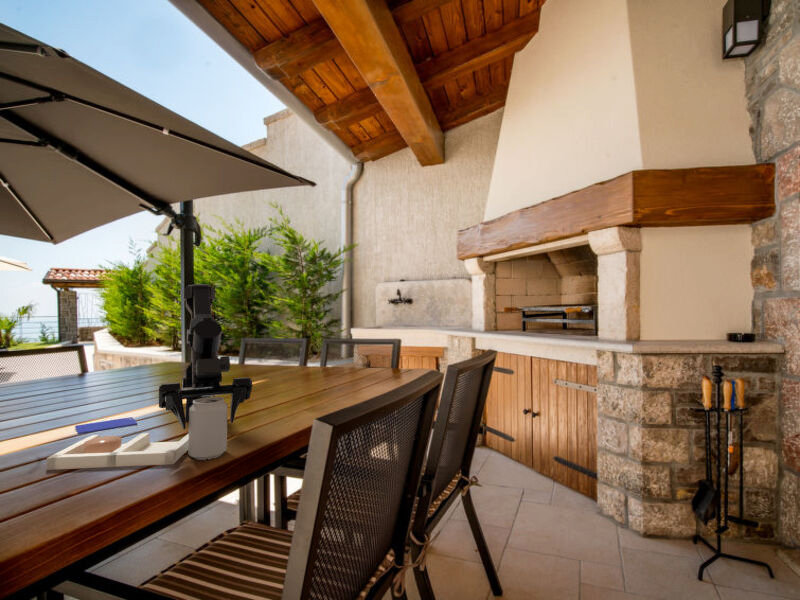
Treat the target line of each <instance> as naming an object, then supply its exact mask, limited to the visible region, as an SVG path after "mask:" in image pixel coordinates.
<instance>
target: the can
mask: <svg viewBox="0 0 800 600" xmlns="http://www.w3.org/2000/svg"><path fill="white" fill-rule="evenodd" d="M188 433H189V442H188V452H187V454H188V455H189V456H190V457H191V458H193V460H196V461H207V460H206V459H208V460H212V458H213V459H216V458H219V457H222V455H223V454H224V453H225V452H226V451H227V449H228V441H227V440H228V404H227V403H226V402H225V397H221V396H214V397H213V396H211V397H205V398H199V399H196V400H194V401H193V405H192V406H191V407H190V408H189V421H188Z"/></svg>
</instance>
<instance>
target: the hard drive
mask: <svg viewBox="0 0 800 600" xmlns="http://www.w3.org/2000/svg"><path fill="white" fill-rule="evenodd" d="M131 426H132V427H134V426H135V427H137V426H138V421H136V420H135V418H134V417H133V416H131V417H130V416H129V417H124V418H123V417H122V418H116V419H111V420H102V421H96V422H90V423H89V422H88V423H84V424H78V425H77V424H76V425H75V426H74V430H75V432H77V435H82V434H83V435H84V434H89V433H90V434H91V433H95V432H103V431H108V430H114V429H120V428H127V427H131Z"/></svg>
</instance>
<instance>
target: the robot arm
mask: <svg viewBox="0 0 800 600" xmlns="http://www.w3.org/2000/svg"><path fill="white" fill-rule="evenodd" d="M182 295H183V296H182V300H183V301H185V308H186V310H187V311H188V312H189V313H190V315H191V320H190V323H189V329H186V345H187V344H189V347H190V349H191V359H190V360H191V362H190V363H189V365H188V366H187V368H186V369H185V374H184V375H185V376H183V377H182V382H179V381H177V382H167V383H161V385H159V386H158V408H160V409H165V410H166V411H168V412H170V411H171V412H172V414H173V415H174V417H176V418H177V420H178V423H179V424H180V426H181V428H182V429H183V430H186V428H187V427H186V426H187V424H186V422H187V421H188V422H189V408H190V407H191V406H192V405H193V401H194V400H196V399H199V398H205V397H216V396H223V395H224V396H225V395H231V399H230V415H229V416H230V417H229V420H230V424H233V423H234V421H235V416H236V413H237V410H238V408H239V405H240V404H243V403H244V402H245V401H246V400H249V399H251V398H250V397H251V394H252V389H253V380H252V379H251V378H250V377H248V376H247V377H246V376H245V377H235V378H234V377H233V378H232V384H222V385H221V383H222V382H223V374H222V372H223V373H226V372H229V371H230V370H231V359H230V356H228V355H225V356H224V355H223V356H222V355H221V356H220V358H219V349H220V346H221V342H222V341H223V339H225V337H226V336H225V335H226V334H225V333H224V332H223V328H222V326H221V324H220V323H218V321H217V320H216V319H215V318H214V317H213V316H212V305H213V302H214V301H215V300H216V287H215V286H211V285H210V284H203V283H194V284H188V285H187V286H183V291H182ZM181 383H182V386H181ZM184 400H186V403H185V409H184V404H183V402H184Z"/></svg>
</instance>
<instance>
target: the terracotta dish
mask: <svg viewBox="0 0 800 600" xmlns="http://www.w3.org/2000/svg"><path fill="white" fill-rule="evenodd" d="M122 440H123V439H122V436H120V435H119V436H118V435H107V436H100V437H98V438H94V439H91V440H88V441H86V442H84V454H87V453H111V452H113V451H115V450H116V449H118V448H120V447H121V444H122Z"/></svg>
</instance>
